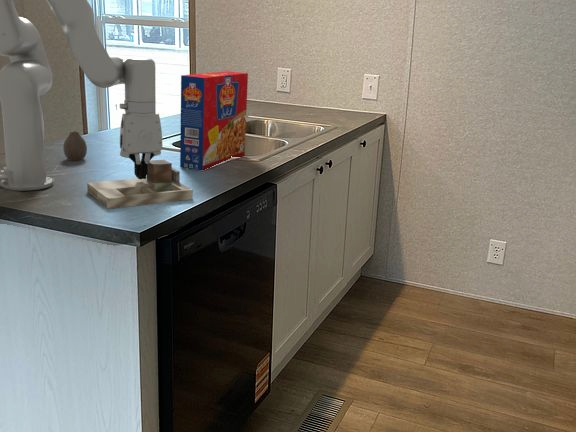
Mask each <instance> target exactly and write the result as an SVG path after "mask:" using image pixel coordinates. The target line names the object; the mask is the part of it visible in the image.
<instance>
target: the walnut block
mask: <svg viewBox="0 0 576 432" xmlns="http://www.w3.org/2000/svg"><path fill="white" fill-rule="evenodd" d="M172 168H173V165H172V163H171V162H169V161H168V160H166V159H155V160H152V159H151V160H150V161H149V163H148V174H147V175H146V178H147V180H149V181H150V182H152V183H165V182H172Z"/></svg>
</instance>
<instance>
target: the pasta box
mask: <svg viewBox="0 0 576 432" xmlns="http://www.w3.org/2000/svg"><path fill="white" fill-rule="evenodd" d="M248 80H249V73H248V72H241V71H240V72H239V71H228V70H224V71H215V72H203V73H192V74H185V75H184V74H183V75H180V140H179V142H180V146H179V147H180V150H179V152H180V158H179V160H180V161H179V162H180V163H179V164H180V165H179V167H182V168H181V169H186V168H188V170H192V169H196V170H195V171H198V170H205V169H207V168H210V167H212V166H214V165H216V164H219V163H221V162H223V161H226V160H228V159H230V158H231V156H232V157H241V158H243V157H245V156H246V154H245V153H246V135H247V134H246V132H247V131H246V130H247V129H246V128H247V108H248V107H247V105H248ZM210 169H211V168H210ZM207 170H208V169H207ZM205 171H206V170H205Z"/></svg>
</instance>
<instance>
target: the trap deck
mask: <svg viewBox="0 0 576 432" xmlns="http://www.w3.org/2000/svg"><path fill="white" fill-rule="evenodd" d="M180 177H181V176H180V171H179V170H177V169H176V168H173V167H172V182H165V183H152V182H150V181H149V180H147V177H146V179H139V178H137V177H135V178H127V179H126V178H125V179H113V180H105V181H104V180H103V181H90V182H86V184H87V185H86V186H87V193H88V194H89V195H91V196H92V197H93V198H94V199H96V201H98V202H99V203H100V204H102V205H103V206H104V207H106V208H107V210H109V209H115V208H116V209H118V208H126V207H127V208H128V207H136V206H143V205H152V204H154V205H155V204H163V203H171V202H178V201H179V200H181V201H189V199H190V200H193V199H194V198H193V197H194V195H193V192H194V190H193V189H192V188H190V187H188V186H187V185H185V184H183V183H181V182H180V180H181V179H180ZM179 202H180V201H179Z"/></svg>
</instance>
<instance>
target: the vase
mask: <svg viewBox="0 0 576 432" xmlns="http://www.w3.org/2000/svg"><path fill="white" fill-rule="evenodd" d="M87 145H88V144H87V142H86V141H85V139H84V138H83V137H82V135H81V134H80V132H79V131H77V130H72V131H70V133H69V134H68V136H67V137H66V138H65V140H64V143H63V145H62V146H63V147H62V148H63V154H64V156H65V157H66V159H67V160H69V161H72V162H80V161H82V160H84V159H85V158H86V155H87V154H88V153H87V151H88V150H87V149H88V147H87Z"/></svg>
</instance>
